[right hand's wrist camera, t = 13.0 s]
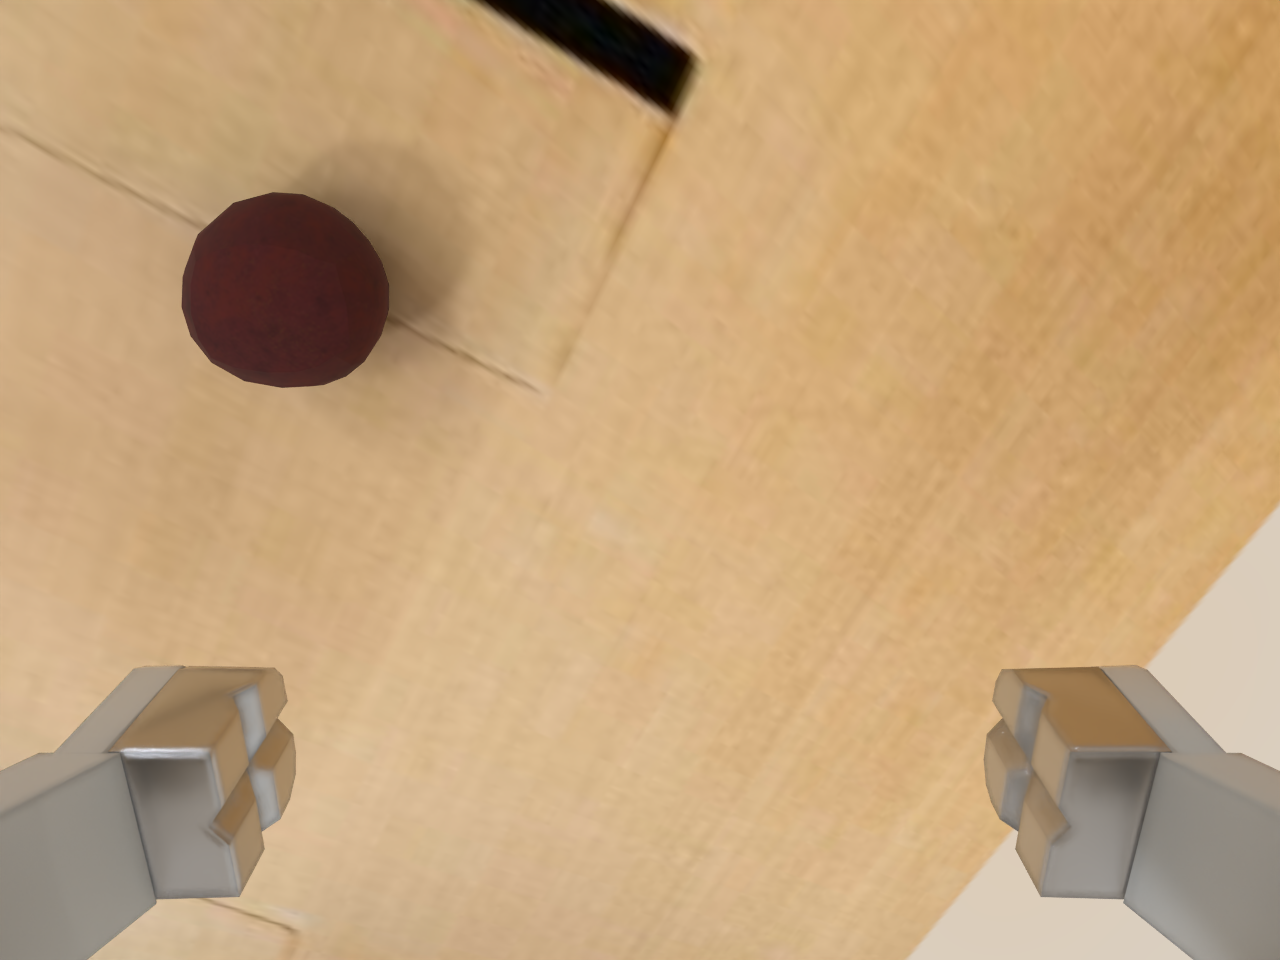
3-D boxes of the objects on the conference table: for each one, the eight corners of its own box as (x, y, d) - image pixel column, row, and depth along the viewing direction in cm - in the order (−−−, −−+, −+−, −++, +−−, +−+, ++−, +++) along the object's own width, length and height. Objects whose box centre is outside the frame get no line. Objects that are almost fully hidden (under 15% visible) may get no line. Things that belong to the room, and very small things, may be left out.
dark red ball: (416, 361, 40) (373, 407, 33) (240, 365, 40) (162, 411, 33) (397, 185, 37) (345, 197, 31) (208, 189, 37) (116, 202, 31)
